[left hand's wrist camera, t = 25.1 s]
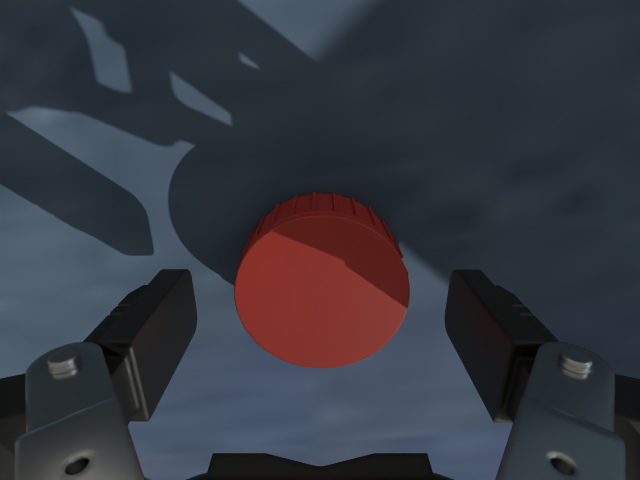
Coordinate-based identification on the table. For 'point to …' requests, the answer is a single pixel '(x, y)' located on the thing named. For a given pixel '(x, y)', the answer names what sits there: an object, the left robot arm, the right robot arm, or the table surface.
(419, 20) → the table surface
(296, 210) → the lid
